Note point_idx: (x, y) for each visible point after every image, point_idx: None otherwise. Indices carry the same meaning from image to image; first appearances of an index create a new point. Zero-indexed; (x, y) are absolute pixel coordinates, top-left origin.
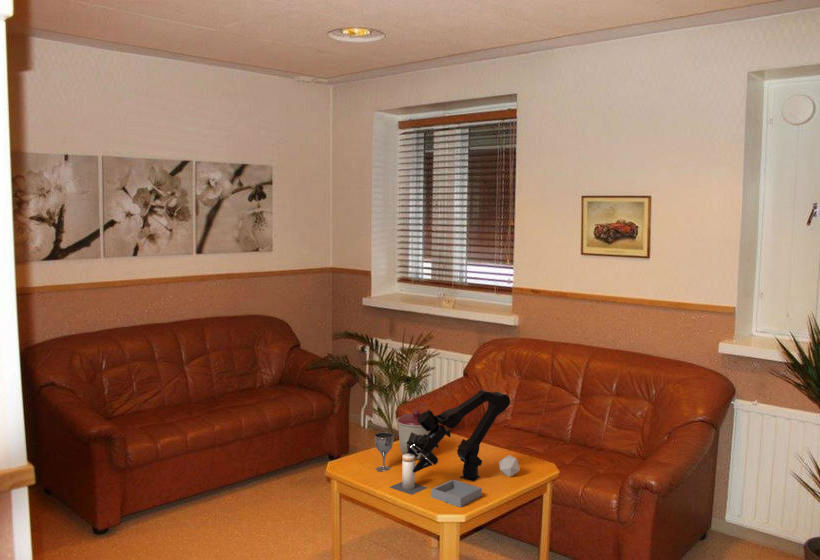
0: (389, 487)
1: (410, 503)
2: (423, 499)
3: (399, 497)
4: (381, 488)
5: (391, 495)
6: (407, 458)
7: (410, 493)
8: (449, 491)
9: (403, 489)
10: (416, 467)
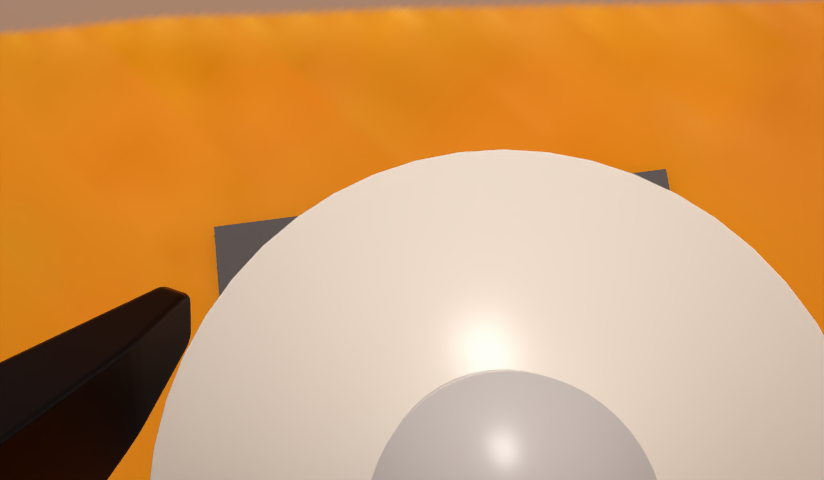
0: (652, 171)
1: (48, 32)
2: (12, 254)
3: (292, 57)
4: (717, 83)
5: (418, 23)
6: (311, 217)
7: (263, 244)
8: None
9: None
10: (27, 361)
